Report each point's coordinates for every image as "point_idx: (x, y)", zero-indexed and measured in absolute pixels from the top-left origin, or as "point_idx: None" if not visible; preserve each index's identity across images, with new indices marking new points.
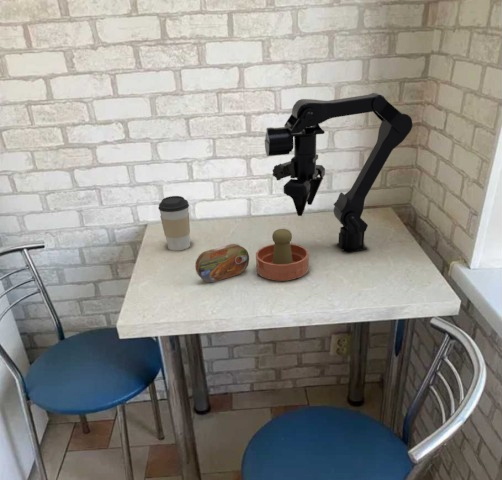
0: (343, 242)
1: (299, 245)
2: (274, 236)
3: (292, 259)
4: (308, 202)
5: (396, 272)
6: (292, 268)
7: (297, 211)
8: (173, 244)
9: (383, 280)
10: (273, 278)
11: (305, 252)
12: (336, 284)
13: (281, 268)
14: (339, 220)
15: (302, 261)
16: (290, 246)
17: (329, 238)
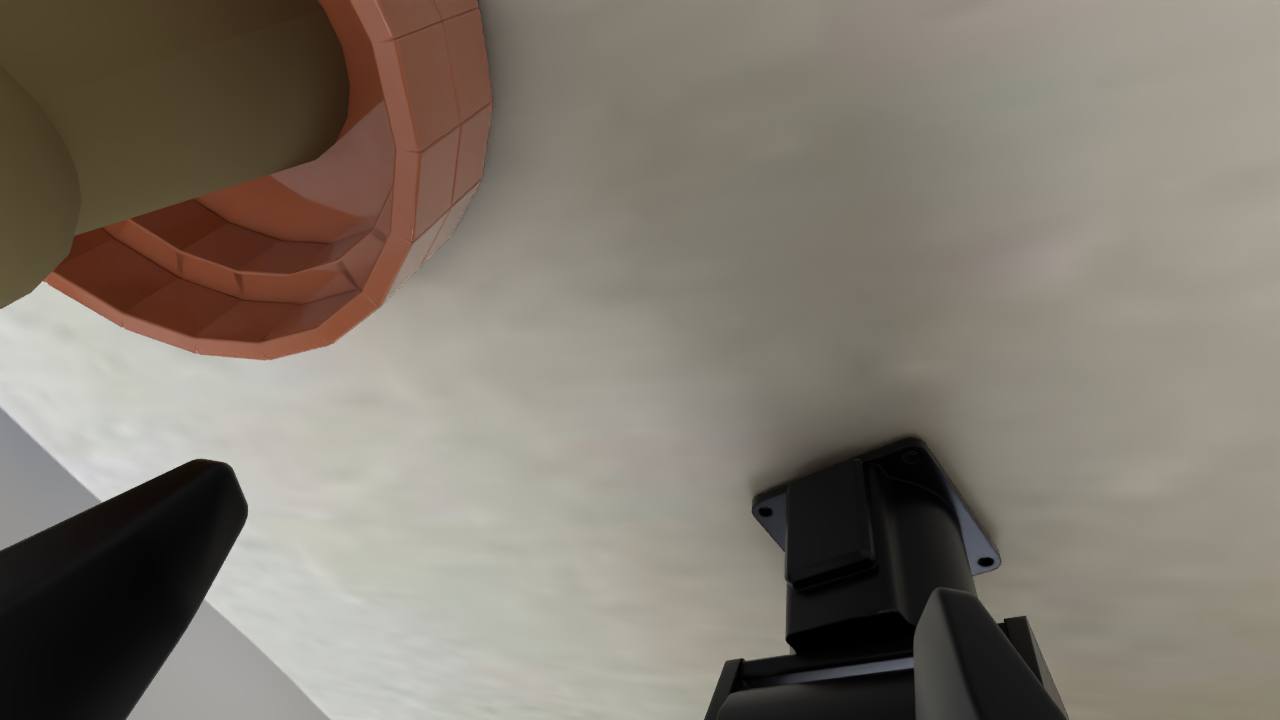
0: (788, 534)
1: (406, 244)
2: None
3: (255, 178)
4: (939, 641)
5: (551, 682)
6: None
7: (92, 527)
8: None
9: (443, 633)
10: None
11: (331, 312)
12: (285, 453)
13: None
14: (760, 712)
15: (127, 325)
16: (113, 223)
17: (1116, 361)
